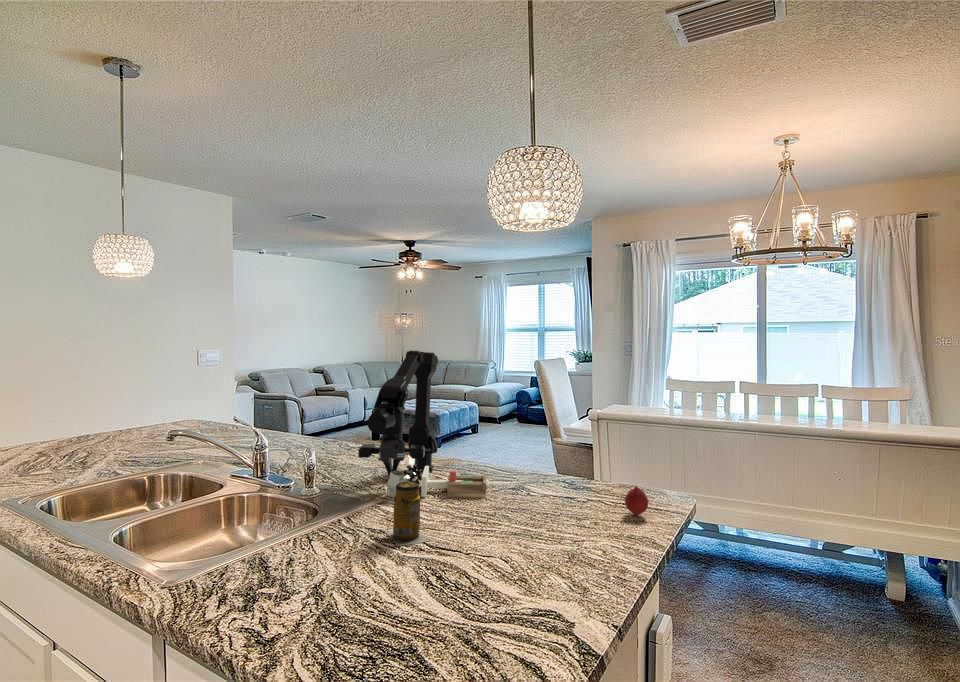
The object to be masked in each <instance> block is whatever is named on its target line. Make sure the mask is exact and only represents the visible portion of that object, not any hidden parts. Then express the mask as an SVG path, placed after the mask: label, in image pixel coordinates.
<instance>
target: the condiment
mask: <svg viewBox="0 0 960 682" xmlns="http://www.w3.org/2000/svg"><path fill="white" fill-rule="evenodd" d="M419 485H420V484H419ZM419 485H418V484H417V483H415V482H410V481H406V482H400V483H398V484H397V485H396V495H395V497H394V498H393V526H392V527H393V528H392V529H393V530H391V531H386V533H387V535H388V537H389V538H390V539H391V540H392V541H393V543H394V544H395V545H396V546H397V547H398V546H407V545H416V544H419V543H424V542H429V539H427V538H426V537H425V535H423V534H422V533H421V532H420V528H421V527H420V524H421V495H420V491H419V487H420V486H419Z"/></svg>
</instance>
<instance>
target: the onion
mask: <svg viewBox="0 0 960 682" xmlns="http://www.w3.org/2000/svg"><path fill="white" fill-rule="evenodd" d="M624 504H625V506H626V508H627V509H628V510H629V512H630V513H631V514H632V515H634V516H640V515H641V514H643V513H645V512H646V511H647V510H648V508H649V499H648V497H647V495H646V493H645V491H644V490H642V489H641V488H640V487H639V486H638V484H635V485H634V487H633V489H630V490H629V491H628V492H627V493H626V495H625V498H624Z"/></svg>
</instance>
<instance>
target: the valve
mask: <svg viewBox="0 0 960 682" xmlns="http://www.w3.org/2000/svg"><path fill="white" fill-rule="evenodd" d="M413 470H414V471H416V472H413ZM411 471H412V472H411ZM421 474H423V472H422V470H421V469H419V470H417V465H415V464H413V465H411V464H408V465H406V469H405V470H403V471H399V470H396V471H392V472H390V477H389V476H388V481H387V489H386V492H385V493H386V495H387V496H388V497H389V498H393V499H394V497H395V495H396V485H397V484H398V483H400V482H406V481H410V482H415V483H417V484H418V485H420V484H421V483H420V481H421V482H422V475H421ZM389 478H390V479H389ZM414 479H415V480H414Z"/></svg>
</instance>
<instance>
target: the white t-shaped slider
mask: <svg viewBox="0 0 960 682" xmlns="http://www.w3.org/2000/svg"><path fill="white" fill-rule="evenodd" d="M449 475H450V480H448V479H430V478H429V477H430V472H429V466H425V468H424V471H423V472H422V475H421V476H422V480H421V489H420V491H421V495H420V498H426V497H427V493H428V489H447V488H448V481H459V482H461V481H463V480H456V475H457V469H456V470H455V469H450V470H449Z"/></svg>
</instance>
